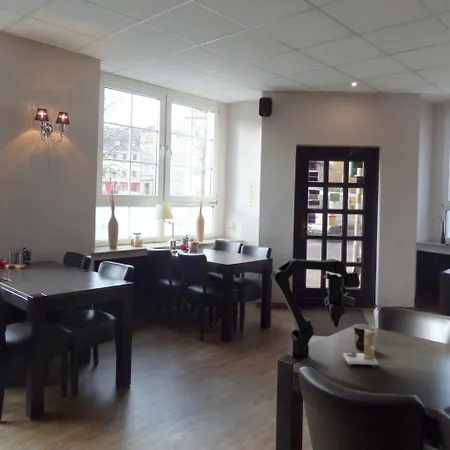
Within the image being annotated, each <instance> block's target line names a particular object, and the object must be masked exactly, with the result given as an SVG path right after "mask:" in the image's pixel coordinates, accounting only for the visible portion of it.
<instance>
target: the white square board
mask: <svg viewBox="0 0 450 450" xmlns="http://www.w3.org/2000/svg"><path fill="white" fill-rule="evenodd" d="M347 353H348V352H342V356H343V358H344V359H345V362H346V363H347V365H348V367H350V368H351V367H352V368H353V366H354V365H370V366H371V367H372V368H373V369H374V368H376V366H378V365H379V361H378V360H377V359H376V356H374V360H370V359H364V352H363V353H360V352H357V353H356V352H355V353H356V357H350V356H348V355H347Z"/></svg>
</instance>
